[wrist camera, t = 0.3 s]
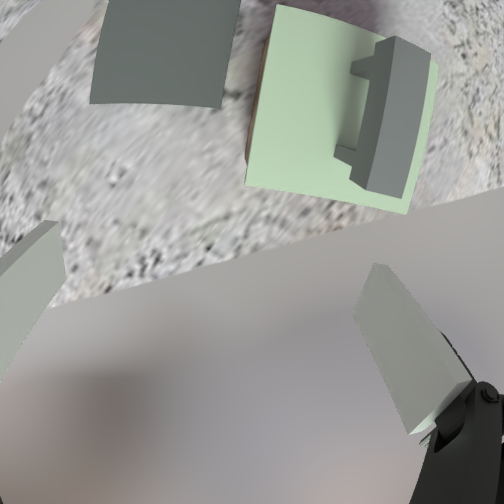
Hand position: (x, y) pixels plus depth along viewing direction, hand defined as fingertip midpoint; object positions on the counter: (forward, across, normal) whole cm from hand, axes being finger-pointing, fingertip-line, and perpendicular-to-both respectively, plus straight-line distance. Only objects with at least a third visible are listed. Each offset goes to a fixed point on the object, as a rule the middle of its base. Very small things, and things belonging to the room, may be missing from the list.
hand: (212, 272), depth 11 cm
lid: (+16, +10, +8) cm, 21 cm away
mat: (+28, -11, +15) cm, 34 cm away
